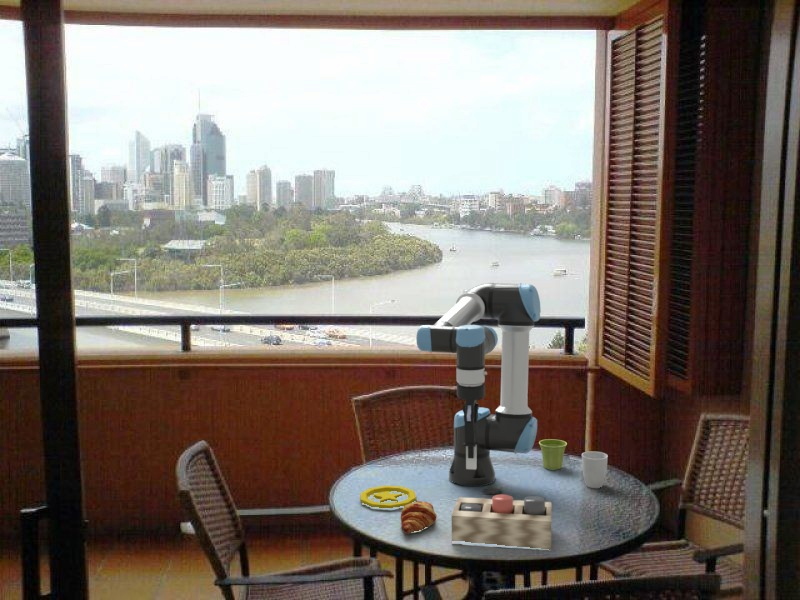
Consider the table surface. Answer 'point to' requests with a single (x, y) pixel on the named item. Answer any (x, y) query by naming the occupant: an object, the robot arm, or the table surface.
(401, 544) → the table surface
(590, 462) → the cup
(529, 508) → the right button
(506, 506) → the middle button
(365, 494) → the decorative disc
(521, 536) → the control box
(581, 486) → the table surface
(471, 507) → the left button
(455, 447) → the robot arm
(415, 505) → the croissant
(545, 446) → the plant pot
